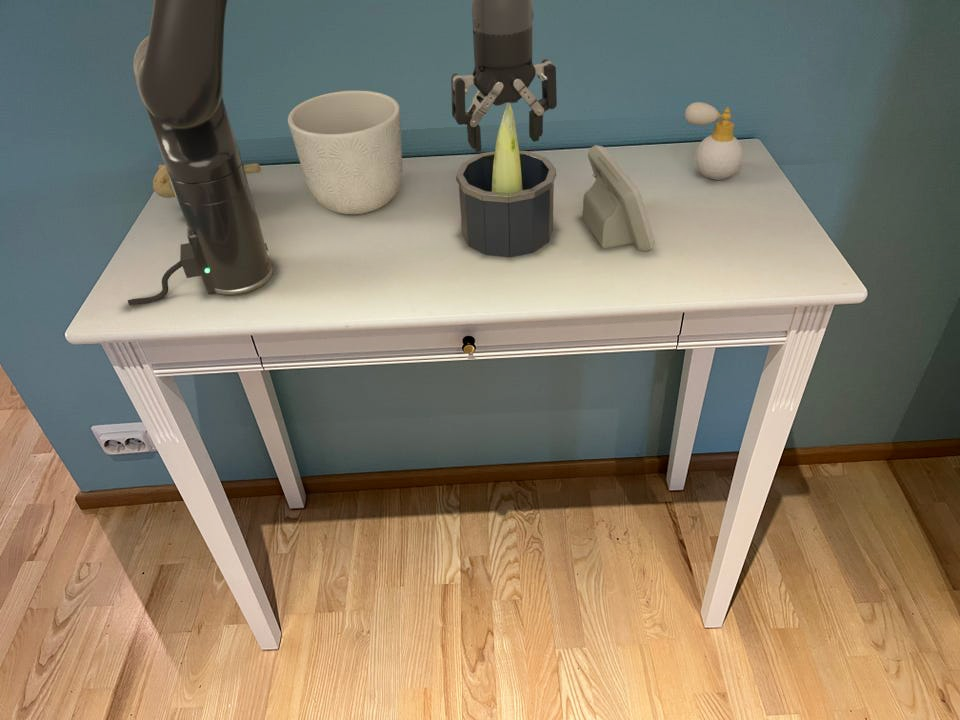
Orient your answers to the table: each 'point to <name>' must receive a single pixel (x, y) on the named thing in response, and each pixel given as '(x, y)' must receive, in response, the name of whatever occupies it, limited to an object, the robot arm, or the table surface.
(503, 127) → the yellow elongated tapered cylinder
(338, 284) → the table surface
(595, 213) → the digital clock
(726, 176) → the perfume bottle
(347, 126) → the planter
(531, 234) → the pail
